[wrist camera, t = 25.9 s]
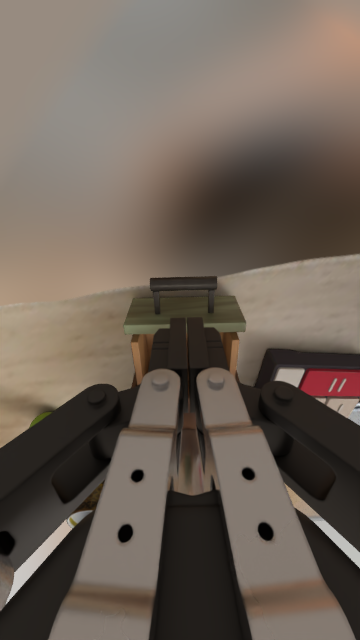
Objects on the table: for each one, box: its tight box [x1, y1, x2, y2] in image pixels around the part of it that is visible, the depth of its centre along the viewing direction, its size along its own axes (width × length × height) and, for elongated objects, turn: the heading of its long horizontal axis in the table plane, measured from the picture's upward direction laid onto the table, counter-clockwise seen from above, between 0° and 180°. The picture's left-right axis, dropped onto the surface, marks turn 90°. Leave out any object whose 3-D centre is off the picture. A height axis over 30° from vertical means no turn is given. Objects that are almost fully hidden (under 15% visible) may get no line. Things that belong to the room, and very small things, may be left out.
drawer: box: [123, 276, 246, 394], centre depth 32 cm, size 18×13×7 cm
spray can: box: [178, 429, 204, 496], centre depth 30 cm, size 5×5×12 cm
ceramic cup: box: [67, 480, 105, 529], centre depth 48 cm, size 13×10×10 cm
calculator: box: [255, 349, 360, 418], centre depth 39 cm, size 11×4×15 cm
